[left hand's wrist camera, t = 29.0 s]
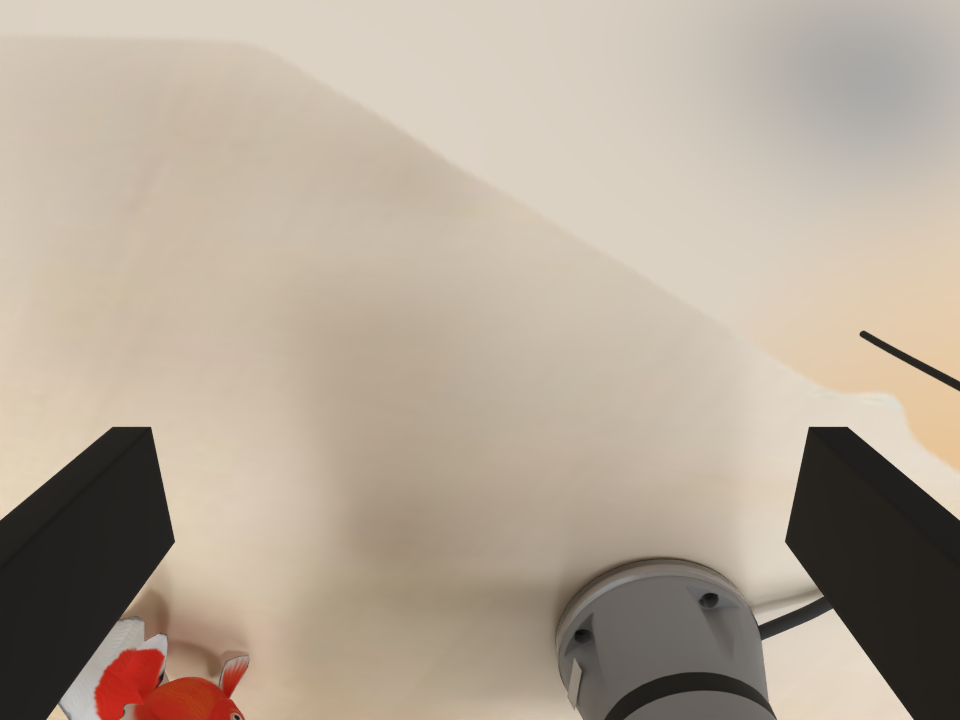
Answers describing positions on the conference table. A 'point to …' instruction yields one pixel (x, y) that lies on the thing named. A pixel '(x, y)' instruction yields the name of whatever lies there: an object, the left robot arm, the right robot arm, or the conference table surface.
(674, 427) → the conference table surface
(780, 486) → the conference table surface
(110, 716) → the fish
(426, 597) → the conference table surface
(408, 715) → the conference table surface
